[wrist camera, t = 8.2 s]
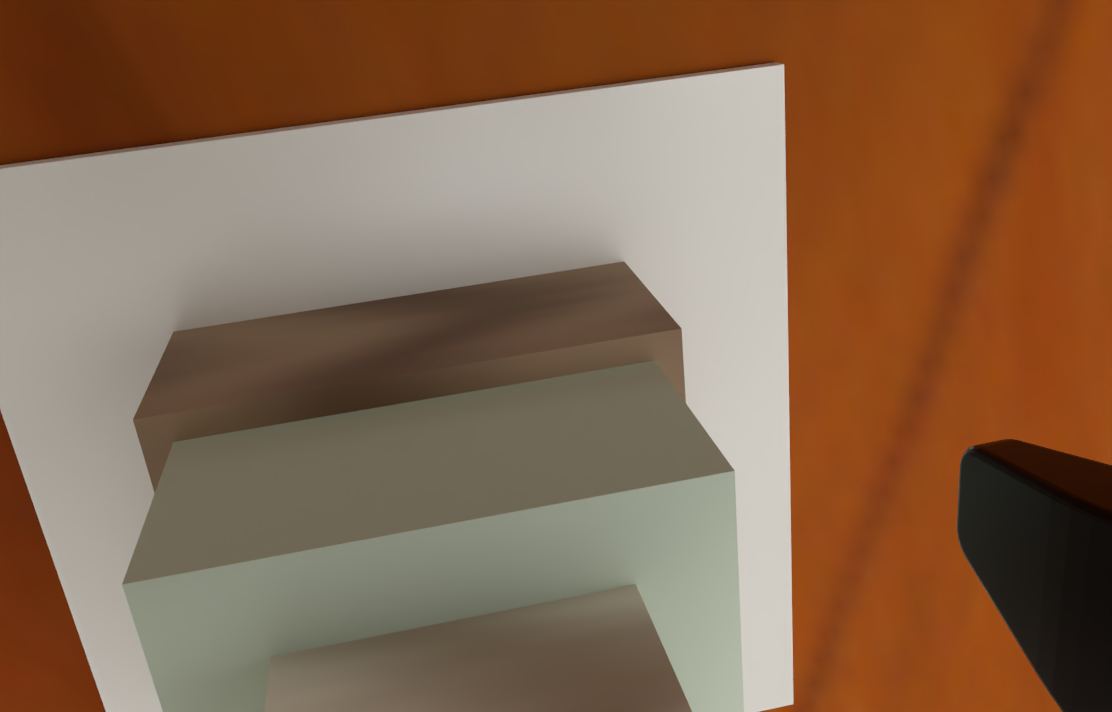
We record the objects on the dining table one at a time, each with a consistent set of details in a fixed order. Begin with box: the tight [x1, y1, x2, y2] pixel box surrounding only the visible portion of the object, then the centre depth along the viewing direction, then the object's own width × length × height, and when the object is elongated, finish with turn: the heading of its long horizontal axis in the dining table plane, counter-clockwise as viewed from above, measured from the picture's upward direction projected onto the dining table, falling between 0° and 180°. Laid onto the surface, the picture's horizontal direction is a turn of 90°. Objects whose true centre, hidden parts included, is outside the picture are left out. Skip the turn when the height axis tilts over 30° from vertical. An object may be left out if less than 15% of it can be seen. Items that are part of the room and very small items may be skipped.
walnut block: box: [133, 262, 686, 493], centre depth 20 cm, size 9×9×4 cm
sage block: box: [122, 360, 744, 712], centre depth 17 cm, size 8×8×4 cm
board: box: [0, 62, 793, 712], centre depth 22 cm, size 16×16×1 cm
